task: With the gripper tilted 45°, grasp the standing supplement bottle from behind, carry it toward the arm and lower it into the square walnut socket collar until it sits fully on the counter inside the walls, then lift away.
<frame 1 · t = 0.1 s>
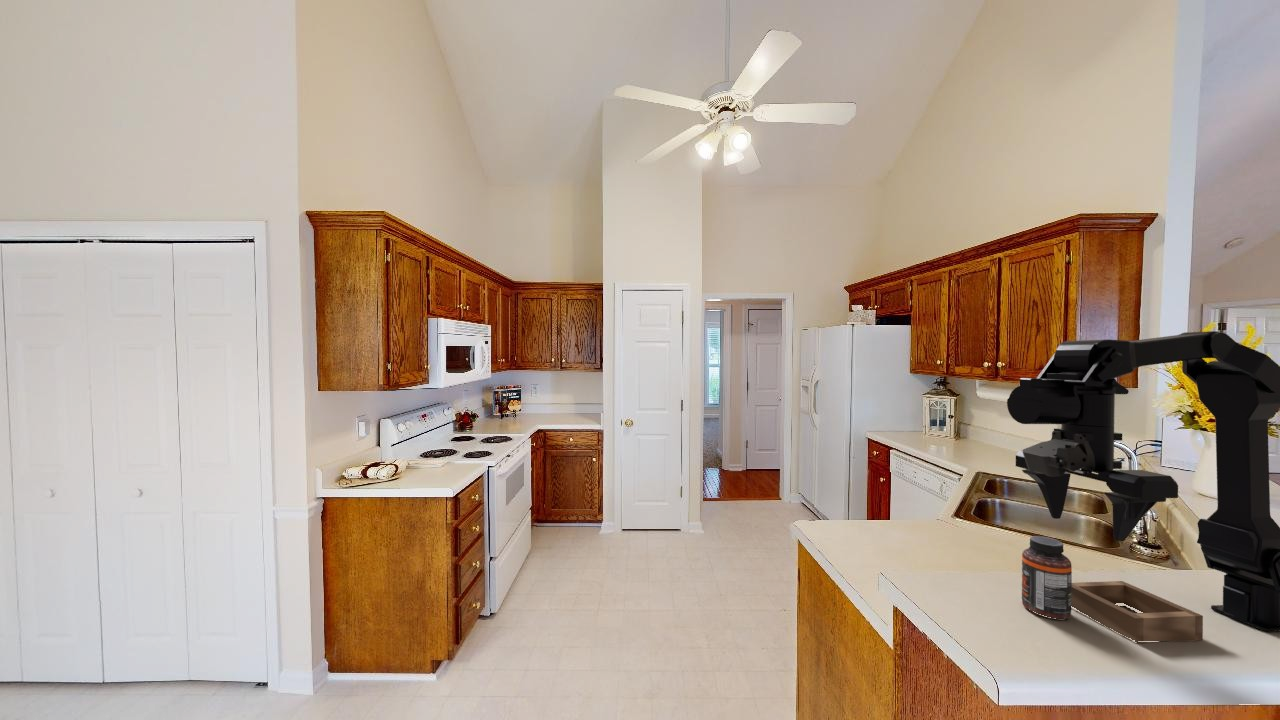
hand: (1085, 528, 70), 15 cm above the counter, tool pointing down, fingers open, 9 cm apart
supplement bottle: (1045, 612, 74), on the counter
socket collar: (1128, 621, 72), on the counter
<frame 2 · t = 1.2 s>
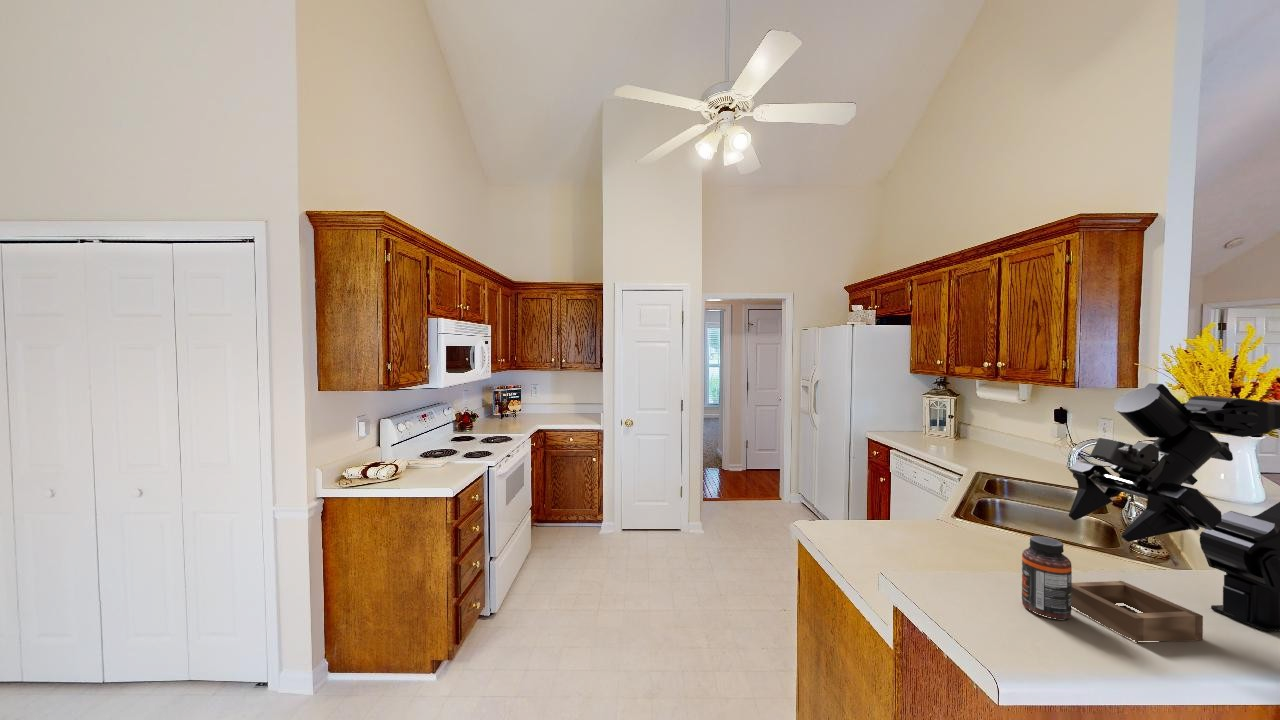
hand: (1096, 528, 74), 13 cm above the counter, tool tilted 45°, fingers open, 9 cm apart
nothing on the counter moved.
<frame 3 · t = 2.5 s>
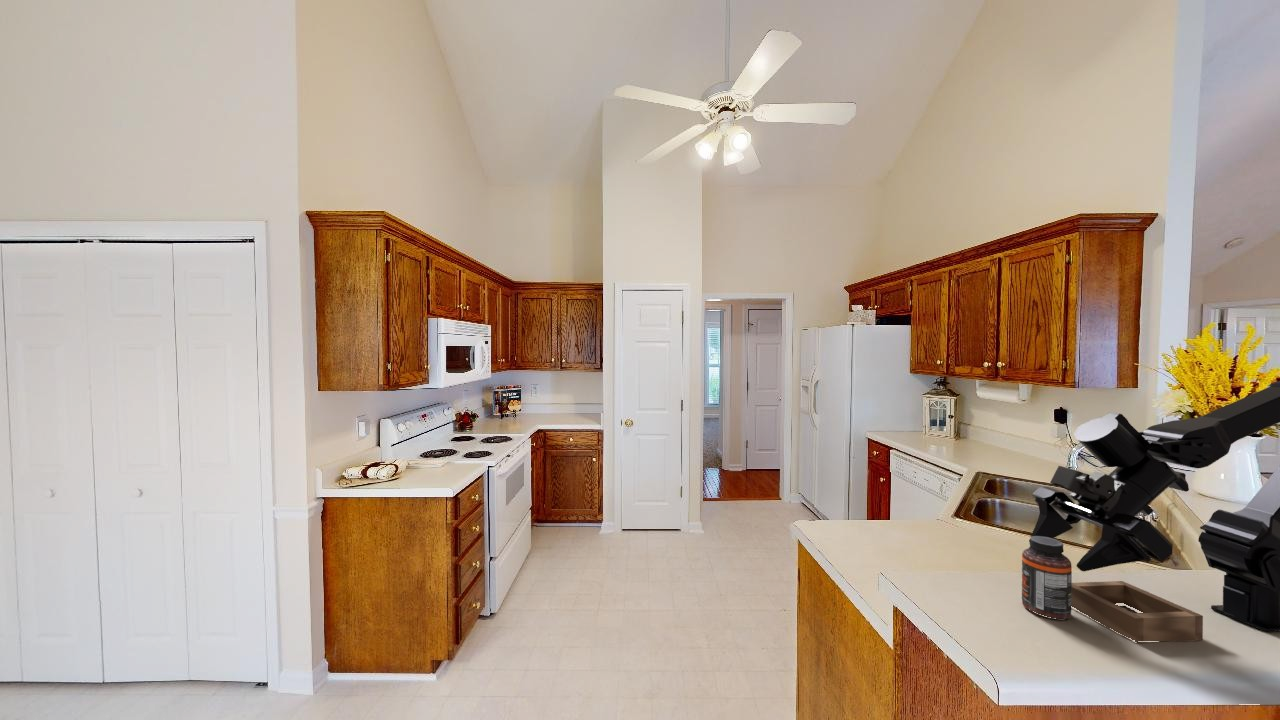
hand: (1053, 555, 74), 9 cm above the counter, tool tilted 45°, fingers open, 9 cm apart
nothing on the counter moved.
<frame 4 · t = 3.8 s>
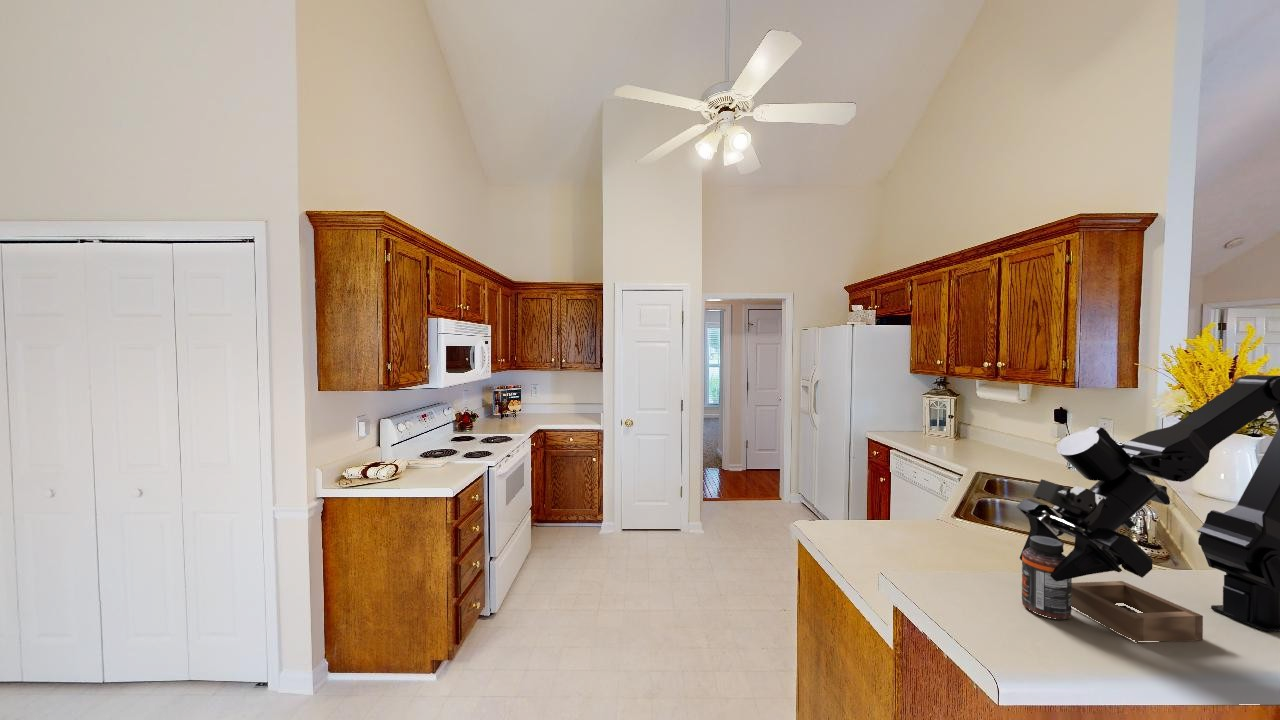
hand: (1037, 569, 74), 7 cm above the counter, tool tilted 45°, fingers closed on supplement bottle, 6 cm apart
supplement bottle: (1045, 612, 74), on the counter, touching gripper
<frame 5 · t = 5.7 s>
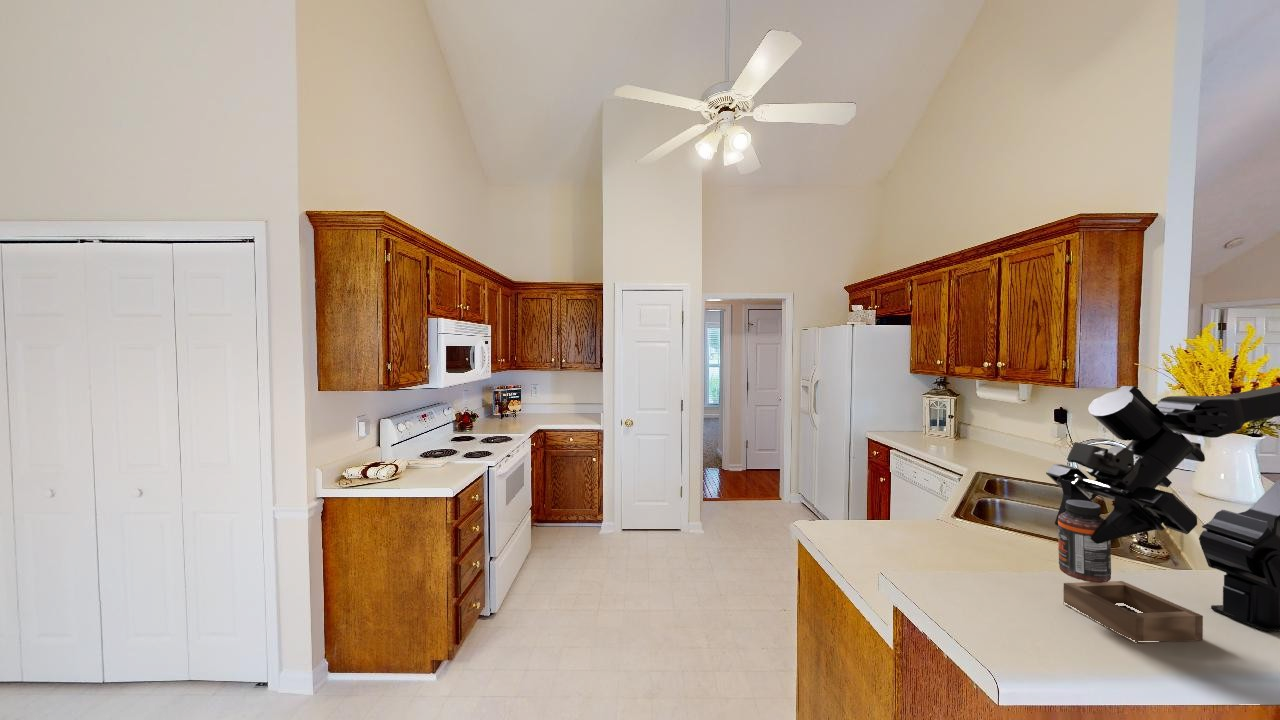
hand: (1074, 533, 73), 13 cm above the counter, tool tilted 45°, fingers closed on supplement bottle, 6 cm apart
supplement bottle: (1084, 576, 73), point 6 cm above the counter, touching gripper
when the fingers open (8 cm above the counter, at t = 7.9 s): supplement bottle drops 1 cm, resting in socket collar.
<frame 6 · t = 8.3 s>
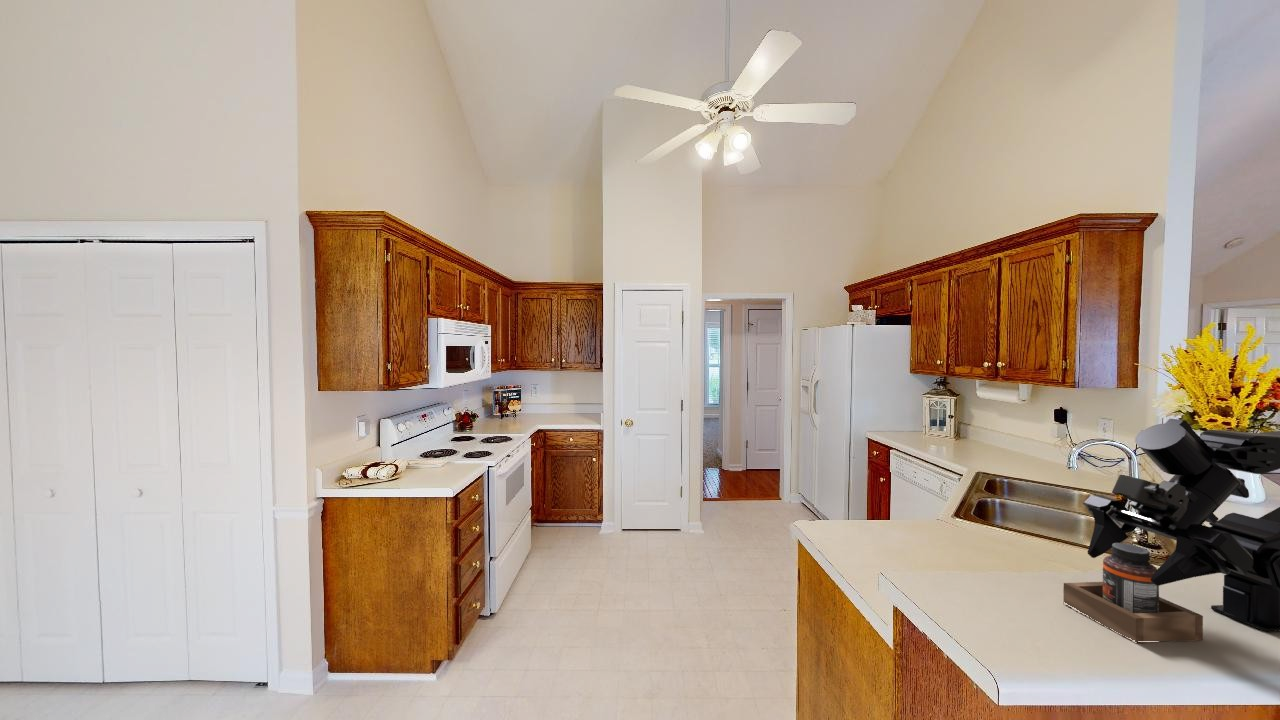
hand: (1120, 568, 72), 8 cm above the counter, tool tilted 45°, fingers open, 9 cm apart
supplement bottle: (1129, 622, 72), resting in socket collar
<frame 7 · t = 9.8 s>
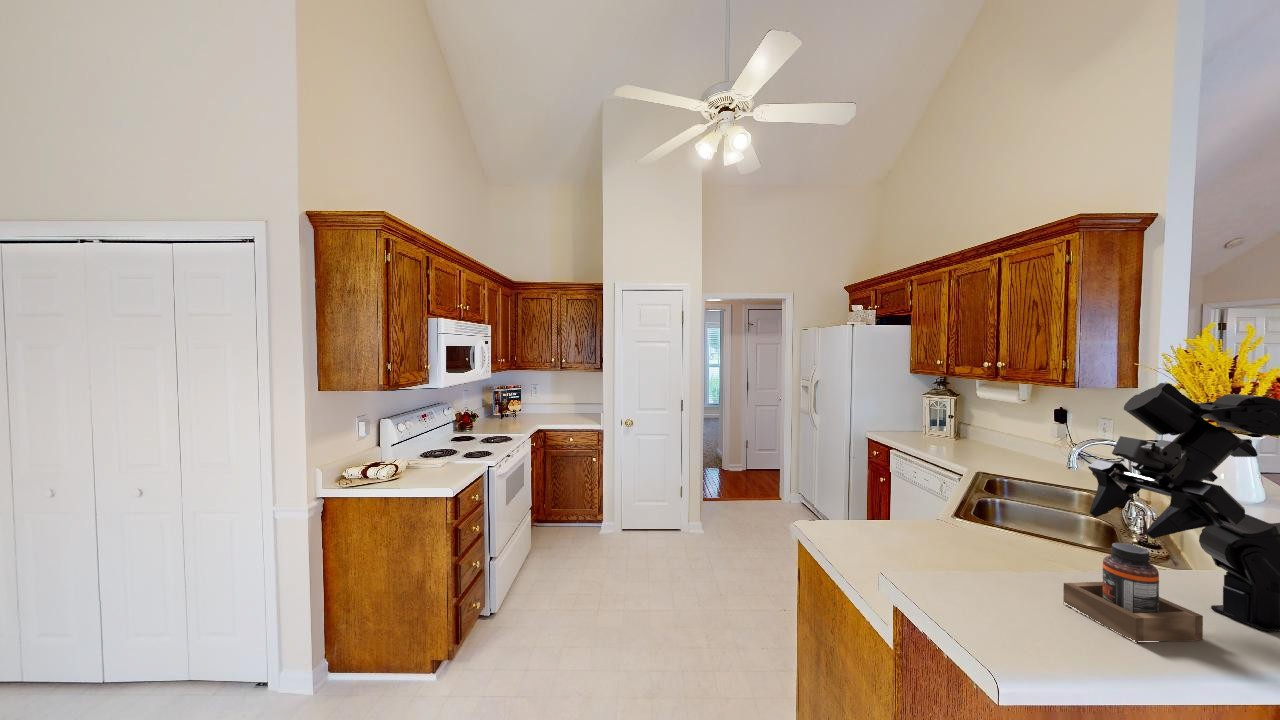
hand: (1118, 524, 75), 13 cm above the counter, tool tilted 45°, fingers open, 9 cm apart
nothing on the counter moved.
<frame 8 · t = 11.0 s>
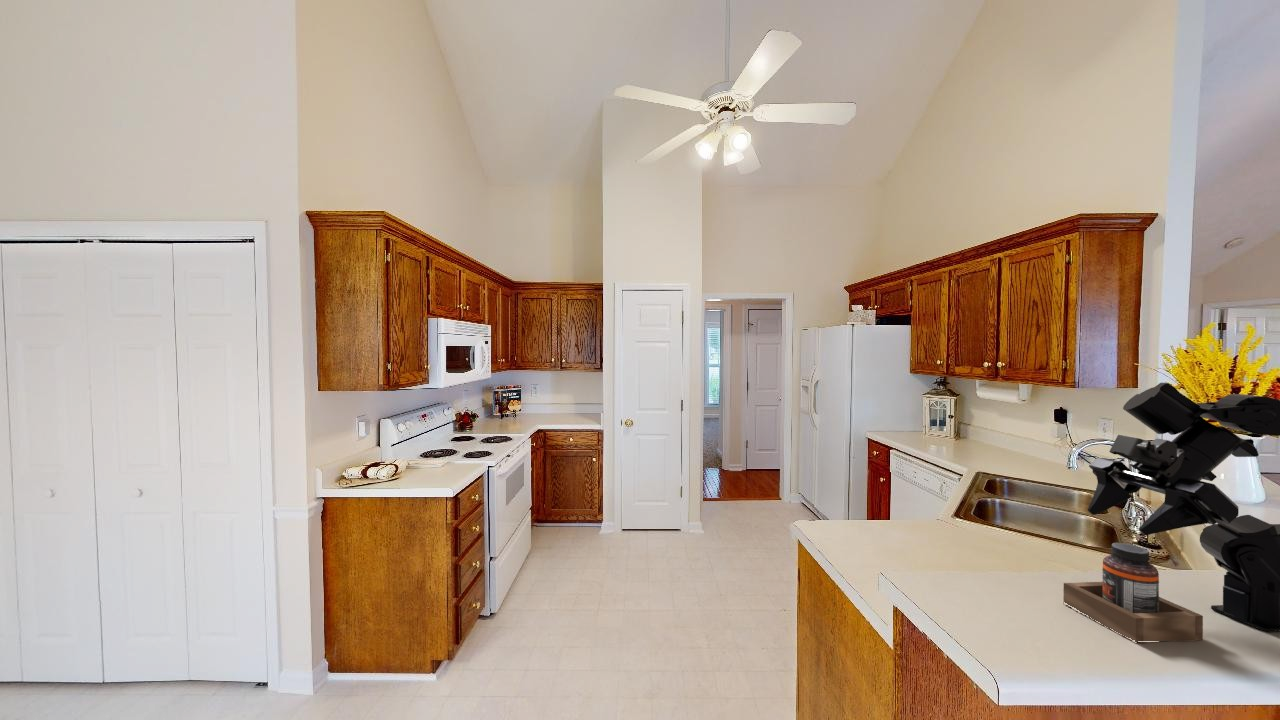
hand: (1114, 522, 76), 14 cm above the counter, tool tilted 45°, fingers open, 9 cm apart
nothing on the counter moved.
at the end: supplement bottle 0.2 cm off-centre on the socket collar, point 0.0 cm above the socket collar's base; supplement bottle tilted 0° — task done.
